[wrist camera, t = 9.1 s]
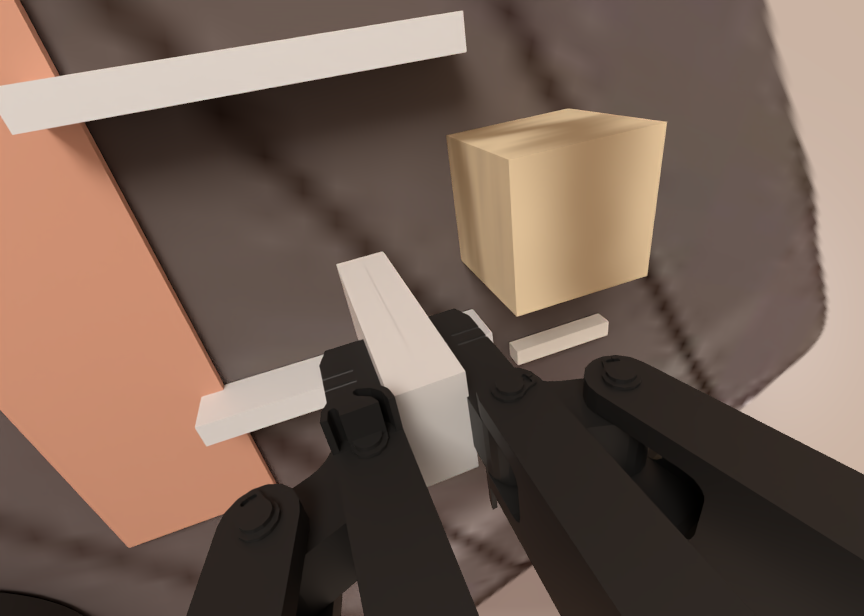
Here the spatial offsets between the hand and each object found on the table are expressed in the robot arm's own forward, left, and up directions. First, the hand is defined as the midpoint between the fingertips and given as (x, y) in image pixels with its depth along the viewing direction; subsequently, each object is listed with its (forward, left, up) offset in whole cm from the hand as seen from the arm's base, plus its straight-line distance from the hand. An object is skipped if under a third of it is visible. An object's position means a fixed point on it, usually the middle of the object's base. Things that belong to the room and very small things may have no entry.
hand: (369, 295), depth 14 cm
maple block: (+8, 0, -6) cm, 11 cm away
